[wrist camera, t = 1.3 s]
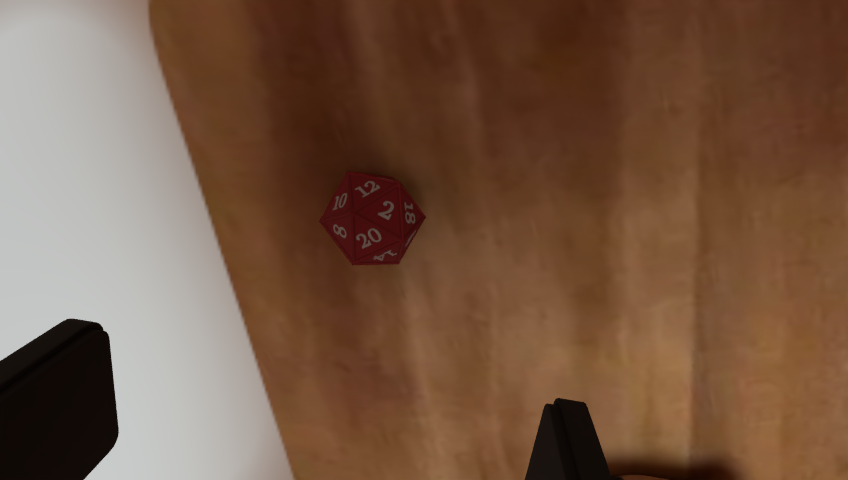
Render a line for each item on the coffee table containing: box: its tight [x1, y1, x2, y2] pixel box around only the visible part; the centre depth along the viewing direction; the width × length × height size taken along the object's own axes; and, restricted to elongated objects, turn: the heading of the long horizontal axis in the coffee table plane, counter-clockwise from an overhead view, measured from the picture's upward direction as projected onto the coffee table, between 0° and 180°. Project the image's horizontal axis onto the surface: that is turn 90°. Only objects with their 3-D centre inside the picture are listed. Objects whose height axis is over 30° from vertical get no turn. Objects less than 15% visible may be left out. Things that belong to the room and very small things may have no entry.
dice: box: [319, 171, 426, 265], centre depth 21 cm, size 4×4×4 cm
